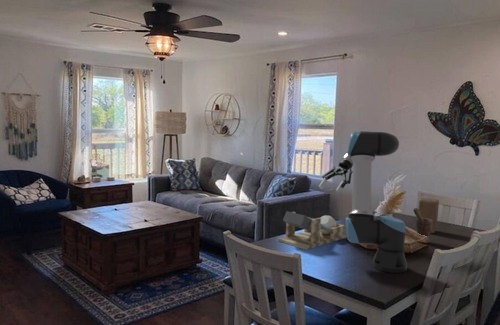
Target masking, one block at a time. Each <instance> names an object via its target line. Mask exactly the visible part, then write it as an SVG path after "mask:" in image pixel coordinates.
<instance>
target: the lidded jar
mask: <svg viewBox="0 0 500 325" xmlns="http://www.w3.org/2000/svg"><path fill="white" fill-rule="evenodd" d="M320 218H321V224H322V225H324V226H325V227H326V228H328V229H329V231H327V230H323V229H320V232H321V233H322V234H324V235H330V230H331V228H333V227H337V224H338V223H337V221H336V220H335V218H333V216H331V215H321V217H320Z"/></svg>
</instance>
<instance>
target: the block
mask: <svg viewBox="0 0 500 325" xmlns="http://www.w3.org/2000/svg"><path fill="white" fill-rule="evenodd" d="M439 203H440V200H438V199H433V198H421V199H419V201H418V208H417V209H418V210H419V211H420V214H421V217H422V218H427V219H431V220H433V221H432V230H431V233H430V234H432V233H433V234H434V233H436V231H437V230H438V221H439V220H438V218H439V207H440V206H439V205H440V204H439Z"/></svg>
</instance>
